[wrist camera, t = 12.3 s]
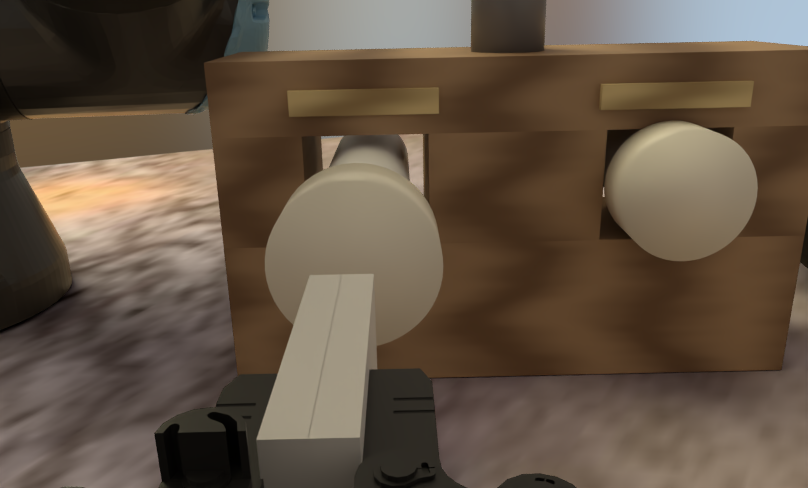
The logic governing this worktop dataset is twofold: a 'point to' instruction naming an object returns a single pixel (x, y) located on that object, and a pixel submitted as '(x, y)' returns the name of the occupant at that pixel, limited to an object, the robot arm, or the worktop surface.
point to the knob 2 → (678, 188)
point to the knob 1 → (360, 234)
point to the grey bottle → (507, 26)
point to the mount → (528, 198)
